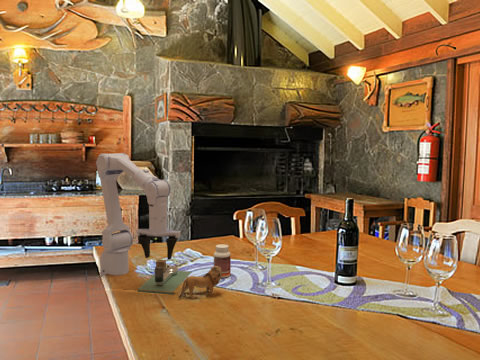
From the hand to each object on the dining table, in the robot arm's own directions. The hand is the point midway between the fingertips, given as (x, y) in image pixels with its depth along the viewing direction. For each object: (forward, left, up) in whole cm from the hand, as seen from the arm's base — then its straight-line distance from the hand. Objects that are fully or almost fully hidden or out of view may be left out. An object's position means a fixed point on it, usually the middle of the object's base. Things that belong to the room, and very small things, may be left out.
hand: (158, 257), depth 145 cm
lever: (0, +8, -9) cm, 12 cm away
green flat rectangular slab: (+1, +6, -10) cm, 12 cm away
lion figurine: (+16, -3, -11) cm, 19 cm away
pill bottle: (+18, +17, -11) cm, 27 cm away
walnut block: (-5, +14, -9) cm, 18 cm away
